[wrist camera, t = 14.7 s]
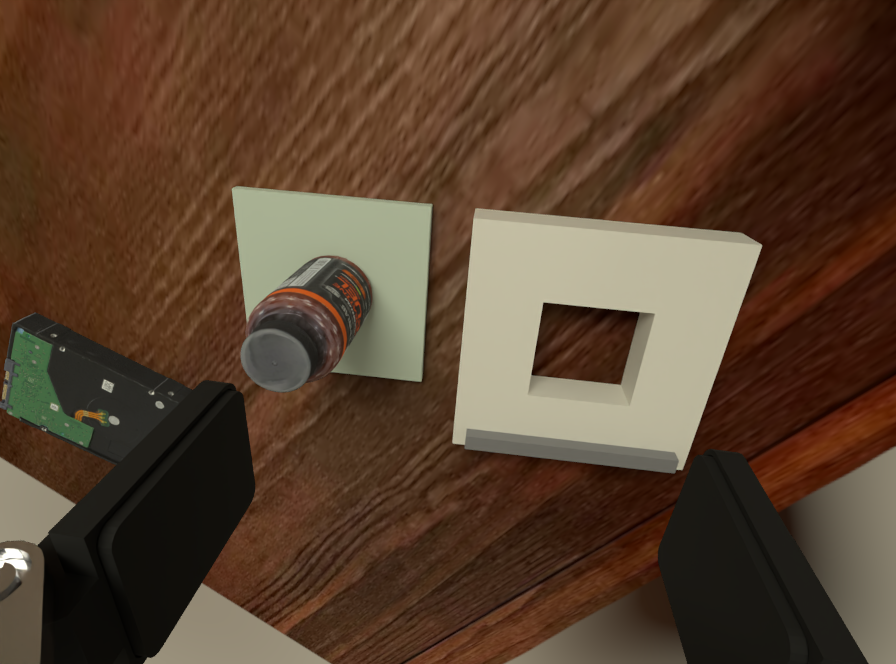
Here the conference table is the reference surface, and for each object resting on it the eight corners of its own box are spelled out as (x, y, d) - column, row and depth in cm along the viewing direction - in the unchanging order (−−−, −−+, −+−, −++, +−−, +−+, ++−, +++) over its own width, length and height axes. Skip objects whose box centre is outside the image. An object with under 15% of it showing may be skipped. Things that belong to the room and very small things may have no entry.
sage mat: (237, 186, 36) (231, 188, 35) (432, 204, 35) (431, 206, 34) (255, 358, 42) (251, 363, 41) (422, 376, 41) (421, 381, 40)
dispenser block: (475, 208, 35) (472, 221, 31) (741, 232, 34) (770, 249, 30) (455, 421, 43) (451, 451, 39) (670, 445, 42) (686, 479, 38)
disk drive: (203, 387, 45) (36, 307, 42) (186, 405, 42) (8, 321, 40) (173, 464, 49) (21, 396, 47) (156, 485, 46) (-6, 414, 44)
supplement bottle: (389, 308, 38) (349, 387, 28) (325, 338, 40) (265, 424, 29) (347, 238, 36) (287, 296, 26) (281, 273, 37) (200, 341, 27)
